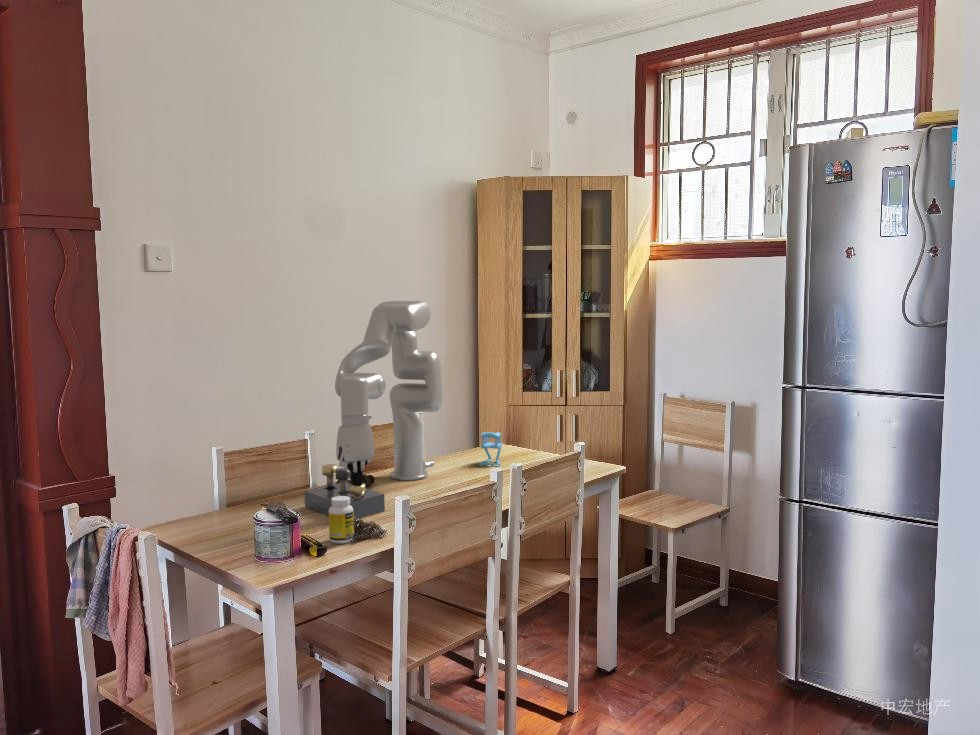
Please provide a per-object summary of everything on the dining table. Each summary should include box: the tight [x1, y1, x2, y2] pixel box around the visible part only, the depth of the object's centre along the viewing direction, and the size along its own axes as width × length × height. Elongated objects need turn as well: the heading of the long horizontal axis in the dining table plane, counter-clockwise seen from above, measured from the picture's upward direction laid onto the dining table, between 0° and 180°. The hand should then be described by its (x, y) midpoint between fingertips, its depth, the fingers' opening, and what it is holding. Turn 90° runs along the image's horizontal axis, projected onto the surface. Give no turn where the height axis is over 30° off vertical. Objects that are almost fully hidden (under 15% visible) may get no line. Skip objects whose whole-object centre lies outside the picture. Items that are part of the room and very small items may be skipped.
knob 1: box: [321, 463, 338, 490], centre depth 235 cm, size 4×4×8 cm
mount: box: [304, 483, 385, 519], centre depth 230 cm, size 14×20×5 cm
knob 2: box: [349, 483, 365, 499], centre depth 225 cm, size 4×4×8 cm
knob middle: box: [334, 467, 351, 495], centre depth 230 cm, size 4×4×8 cm
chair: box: [478, 431, 503, 468], centre depth 285 cm, size 8×8×12 cm
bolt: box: [335, 474, 376, 489], centre depth 252 cm, size 6×5×15 cm
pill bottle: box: [328, 496, 355, 545], centre depth 202 cm, size 6×6×11 cm
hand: (356, 484), depth 224 cm, fingers closed
